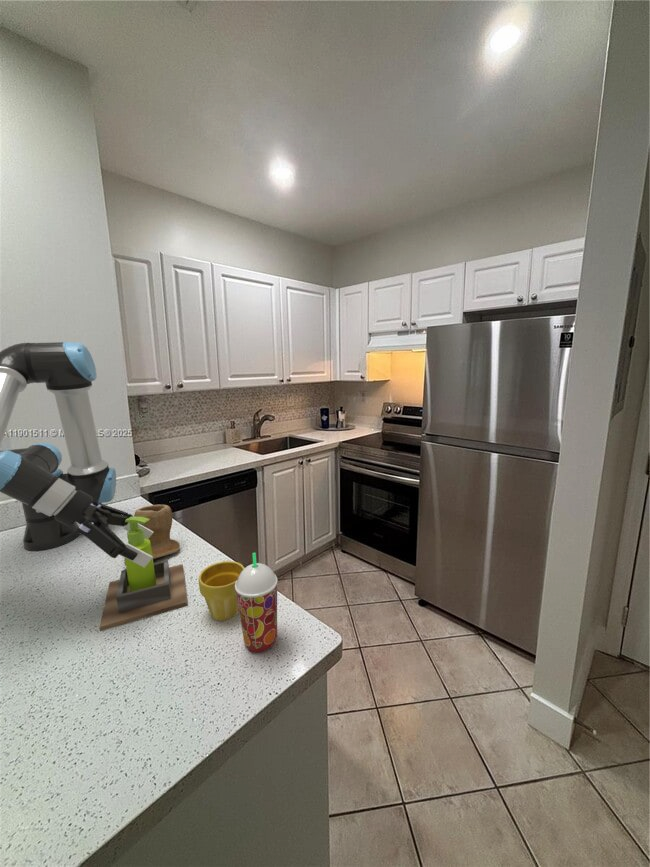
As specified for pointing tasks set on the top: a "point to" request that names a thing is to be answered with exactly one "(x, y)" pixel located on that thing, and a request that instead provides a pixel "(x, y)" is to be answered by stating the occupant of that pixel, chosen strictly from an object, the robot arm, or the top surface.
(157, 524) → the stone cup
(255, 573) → the smoothie
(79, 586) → the top surface
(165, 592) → the dispenser stand
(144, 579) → the soap dispenser
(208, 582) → the plant pot
